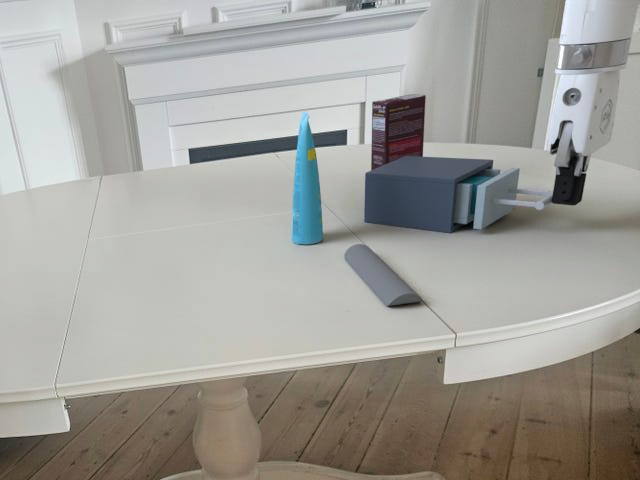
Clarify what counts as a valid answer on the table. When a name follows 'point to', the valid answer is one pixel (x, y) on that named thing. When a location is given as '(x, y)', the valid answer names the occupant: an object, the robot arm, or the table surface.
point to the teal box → (474, 188)
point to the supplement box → (397, 128)
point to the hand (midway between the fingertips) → (566, 202)
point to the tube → (306, 190)
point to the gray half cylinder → (380, 276)
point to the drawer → (494, 198)
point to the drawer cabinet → (418, 191)
